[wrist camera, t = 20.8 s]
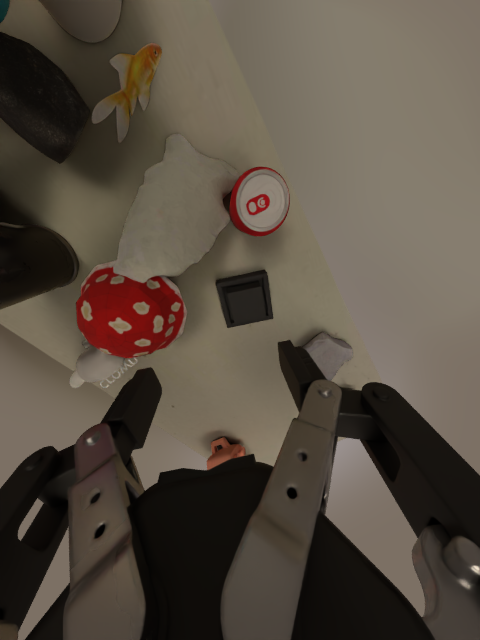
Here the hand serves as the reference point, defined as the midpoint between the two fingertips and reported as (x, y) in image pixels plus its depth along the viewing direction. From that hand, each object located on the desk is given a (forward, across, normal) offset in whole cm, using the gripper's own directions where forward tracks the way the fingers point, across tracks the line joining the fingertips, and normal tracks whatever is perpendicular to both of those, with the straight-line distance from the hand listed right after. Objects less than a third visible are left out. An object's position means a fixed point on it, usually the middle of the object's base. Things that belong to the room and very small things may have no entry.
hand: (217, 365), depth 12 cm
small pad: (+23, -4, +4) cm, 23 cm away
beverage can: (+24, -7, -9) cm, 26 cm away
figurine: (+25, +24, +10) cm, 36 cm away
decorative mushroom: (+24, +12, 0) cm, 27 cm away
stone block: (+24, -17, +21) cm, 36 cm away
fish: (+24, +4, -22) cm, 33 cm away
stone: (+24, +14, -22) cm, 35 cm away
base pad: (+24, -4, +4) cm, 24 cm away
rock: (+24, -2, -17) cm, 29 cm away
